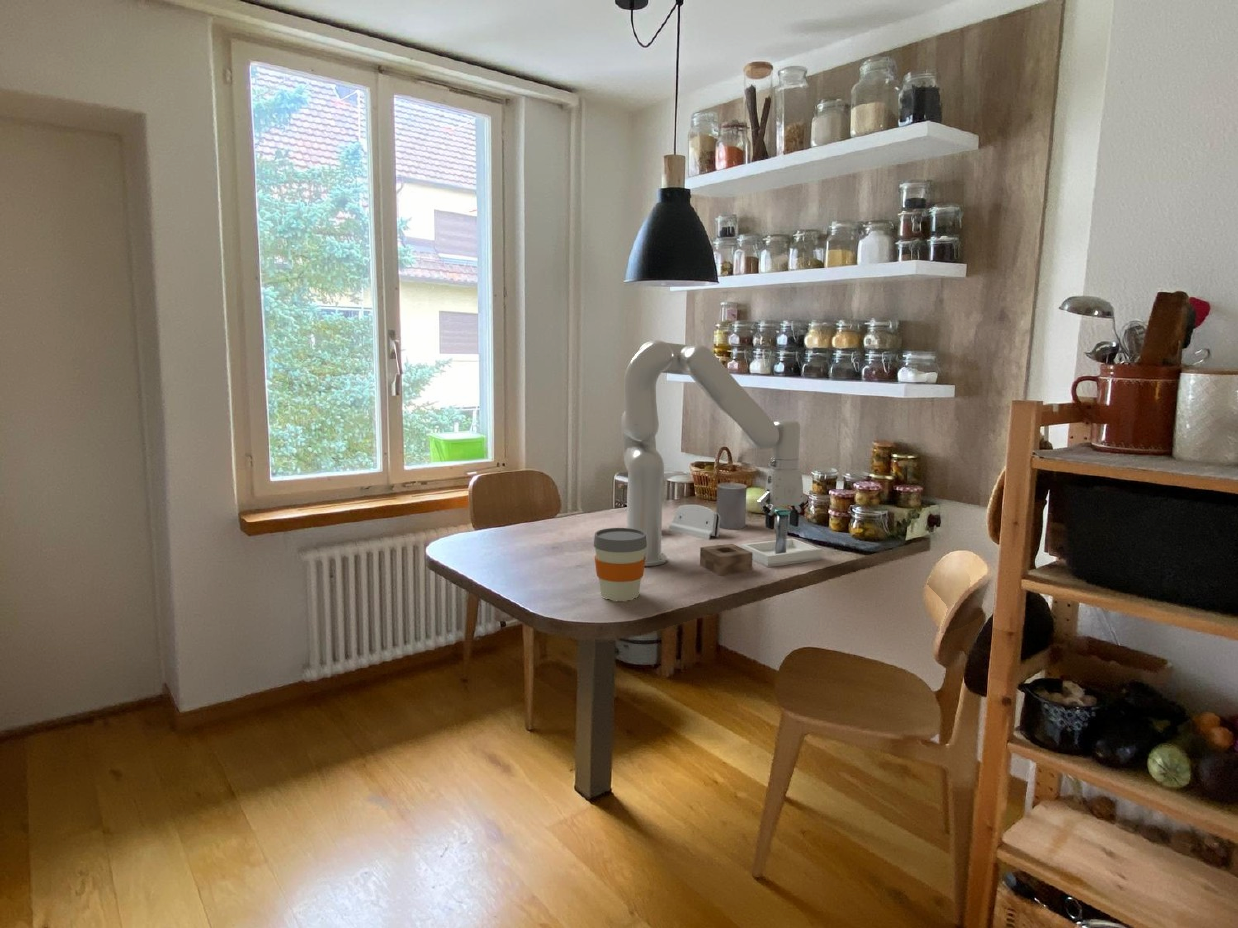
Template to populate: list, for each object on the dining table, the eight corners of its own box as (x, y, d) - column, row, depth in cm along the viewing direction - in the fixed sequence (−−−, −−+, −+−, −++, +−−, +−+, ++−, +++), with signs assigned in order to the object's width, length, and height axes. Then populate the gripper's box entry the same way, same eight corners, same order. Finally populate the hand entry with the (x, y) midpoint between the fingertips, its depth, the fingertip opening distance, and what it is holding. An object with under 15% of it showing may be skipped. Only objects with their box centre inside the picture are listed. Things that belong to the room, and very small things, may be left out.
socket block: (719, 575, 193) (719, 556, 193) (699, 565, 202) (700, 547, 202) (751, 571, 197) (752, 552, 197) (731, 561, 206) (731, 543, 206)
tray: (767, 566, 201) (767, 556, 201) (740, 554, 213) (741, 544, 212) (821, 559, 208) (821, 549, 208) (792, 548, 220) (793, 538, 220)
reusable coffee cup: (617, 583, 186) (617, 524, 184) (656, 594, 178) (657, 533, 176) (582, 595, 177) (582, 534, 175) (622, 608, 169) (623, 543, 167)
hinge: (667, 530, 240) (674, 500, 241) (675, 532, 244) (682, 502, 245) (709, 539, 229) (716, 507, 230) (717, 542, 233) (725, 510, 234)
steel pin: (778, 557, 207) (780, 512, 205) (769, 553, 212) (770, 509, 210) (792, 555, 209) (794, 511, 207) (782, 551, 213) (784, 507, 211)
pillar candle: (712, 522, 251) (714, 478, 249) (741, 522, 252) (742, 478, 250) (719, 530, 242) (720, 484, 239) (749, 529, 243) (750, 484, 240)
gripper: (766, 468, 200) (763, 533, 202) (818, 464, 207) (815, 527, 209) (750, 464, 206) (748, 526, 209) (801, 461, 213) (798, 521, 216)
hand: (781, 526), depth 209 cm, fingers open, 7 cm apart
